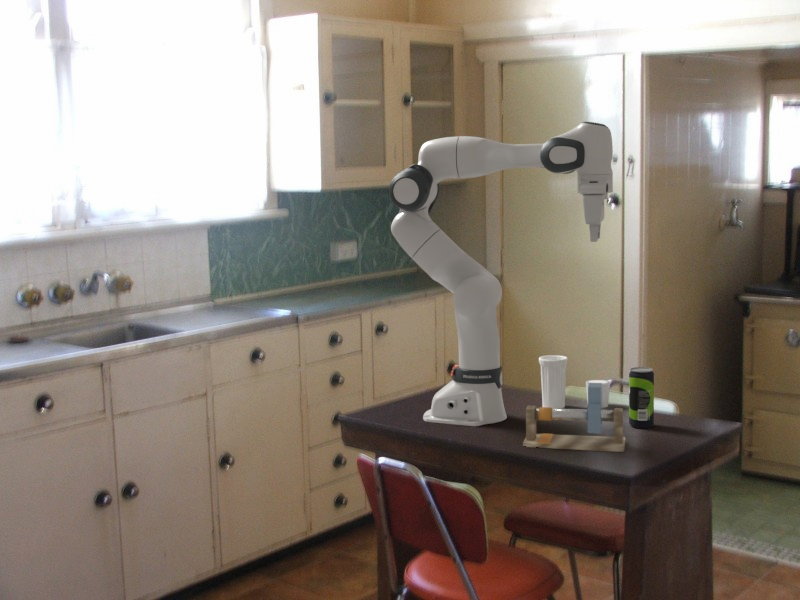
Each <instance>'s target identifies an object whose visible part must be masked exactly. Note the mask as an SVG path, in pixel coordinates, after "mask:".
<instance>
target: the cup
mask: <svg viewBox="0 0 800 600" xmlns="http://www.w3.org/2000/svg"><path fill="white" fill-rule="evenodd" d="M568 360H569V359H568V357H567V356H566V355H565V356H564V355H557V354H556V355H555V354H550V355H549V354H548V355H542V356H541V355H540V356H539V357H538V364H539V365H540V379H541V381H540V382H541V384H540V385H541V399H542V400H541V403H542V404H541V405H542V406H541V407H552V408H558V409H565V407H566V385H567V384H566V382H567V364H568Z"/></svg>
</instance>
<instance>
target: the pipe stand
mask: <svg viewBox="0 0 800 600" xmlns="http://www.w3.org/2000/svg"><path fill="white" fill-rule="evenodd" d="M537 420H538V421H546V422H547V421H574V422H575V421H576V422H577V421H579V422H581V421H582V422H588V408H587V409H586V408H585V409H584V408H561V409H558V408H552V407H542V406H539V407H537V405H527V407H526V408H525V438H524V439H523V442H522V447H523V446H526V447H525V448H536V447H539V449H540V448H541V449H555V450H557V449H559V450H577V451H578V450H579V451H580V450H581V451H595V452H596V451H597V452H598V451H599V452H618V453H619V452H621V453H624V452H625V449H626V437H625V436H624V408H622V407H621V408H620V407H615V408H614V409H602V410H601V421H602V423H605V422H607V423H609V422H610V423H613V436H606V435H605V436H604V435H602V436H601V435H575V434H554V433H545V432H544V433H537Z"/></svg>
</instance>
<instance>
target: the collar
mask: <svg viewBox="0 0 800 600" xmlns="http://www.w3.org/2000/svg"><path fill="white" fill-rule="evenodd" d="M587 409H588V421H587V433H588V434H601V433H602V429H603V422H602V421H601V410H603V408H602V383H589V386H588V401H587Z"/></svg>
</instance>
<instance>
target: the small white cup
mask: <svg viewBox="0 0 800 600" xmlns="http://www.w3.org/2000/svg"><path fill="white" fill-rule="evenodd" d="M589 383H602V409H604V408H608V407H609V403H610V401H609V400H610V389H611V381H609V380H606V379H588V380H586V381H585V388H586V390H585V391H586V399H587V401H586V402H588V386H589Z"/></svg>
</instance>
